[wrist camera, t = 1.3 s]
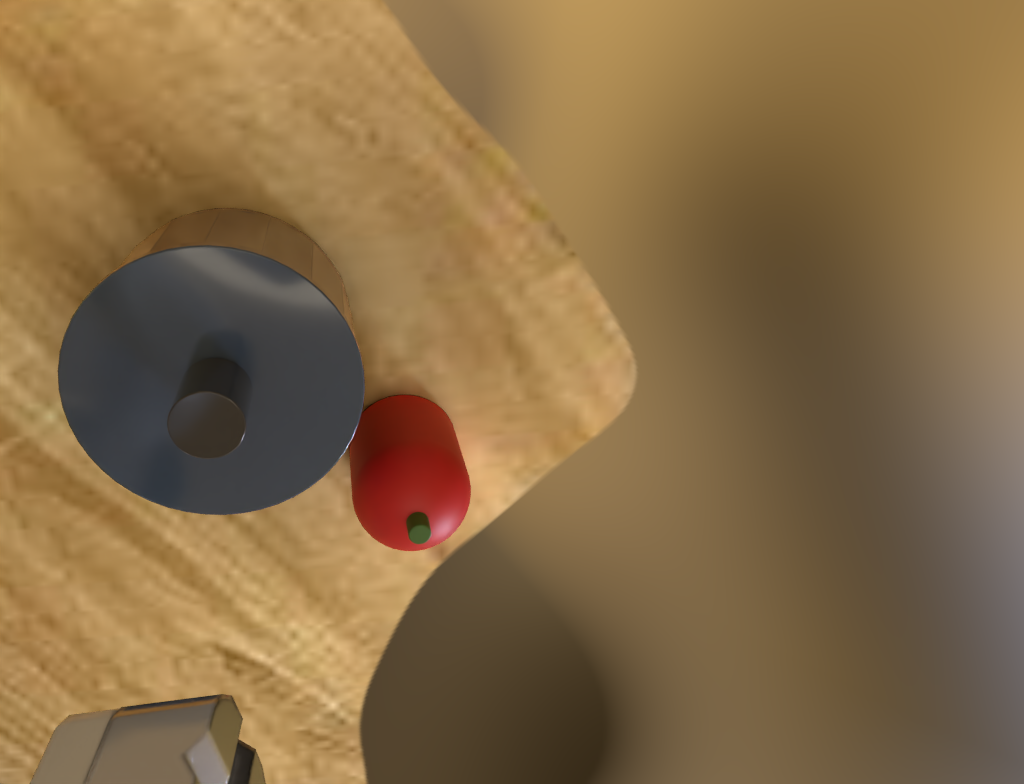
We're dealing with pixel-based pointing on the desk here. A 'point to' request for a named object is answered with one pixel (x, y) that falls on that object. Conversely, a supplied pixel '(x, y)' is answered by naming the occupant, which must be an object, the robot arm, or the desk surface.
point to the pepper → (408, 473)
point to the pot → (252, 243)
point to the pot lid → (211, 378)
